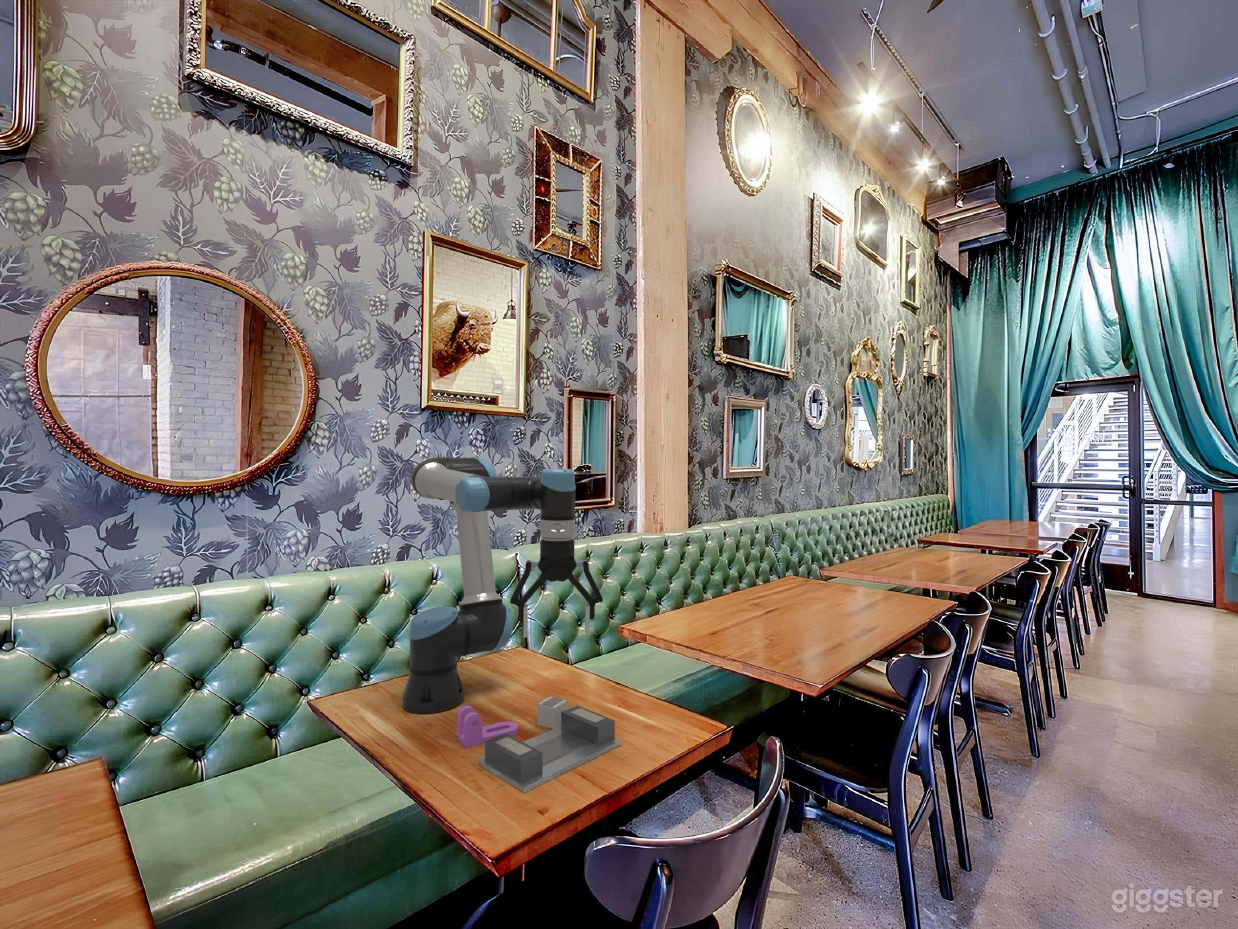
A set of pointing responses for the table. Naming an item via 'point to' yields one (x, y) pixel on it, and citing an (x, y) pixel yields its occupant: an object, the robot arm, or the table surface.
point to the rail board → (550, 749)
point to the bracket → (480, 728)
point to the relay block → (551, 712)
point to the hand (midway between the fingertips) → (556, 635)
